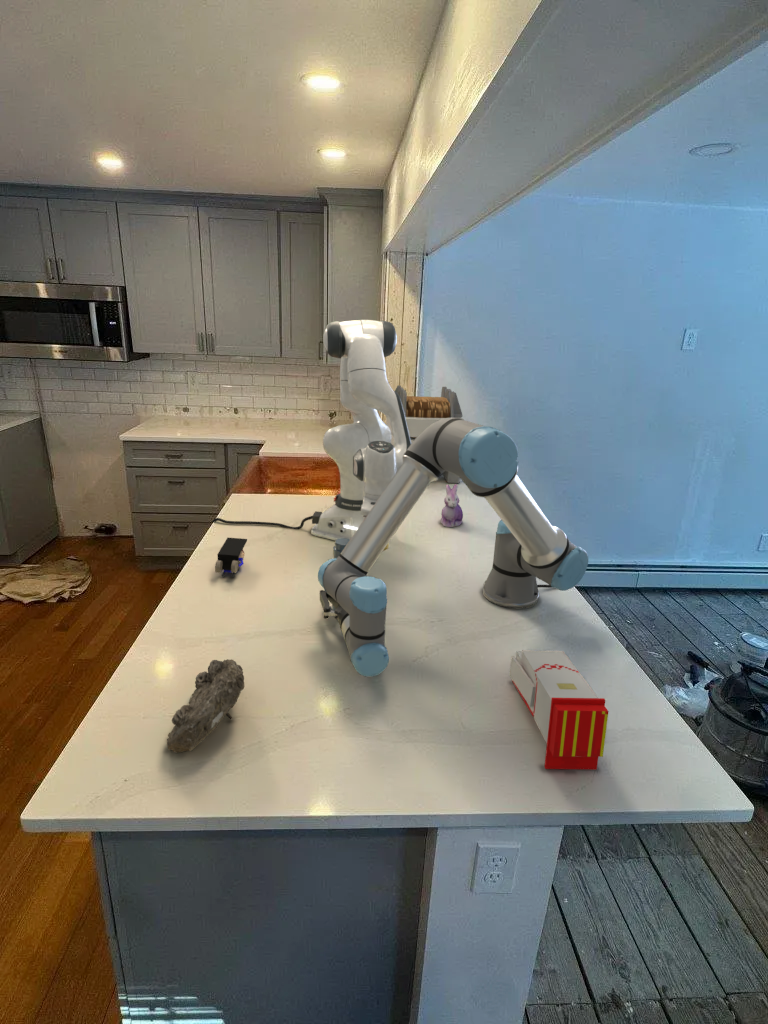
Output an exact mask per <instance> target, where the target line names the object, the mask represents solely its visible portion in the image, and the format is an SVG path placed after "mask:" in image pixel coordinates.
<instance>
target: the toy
mask: <svg viewBox="0 0 768 1024" xmlns="http://www.w3.org/2000/svg"><path fill="white" fill-rule="evenodd" d="M509 677H510V679H511V681H512V684H513V685H514V687H515V688H516V690H517V692H518V694H519V696H520V697H521V699H522V700H523V703H524V704H525V706H526V708H527V710H528V711H529V713H530V714H531V716H532V718H533V720H534V722H535V724H536V727H537V728H538V730H539V732H540V733H541V736H542V737H543V740H544V742H545V744H546V748H545V757H544V769H545V770H595V771H596V770H598V763H599V758H603V757H604V751H605V744H606V735H607V727H608V720H609V712H610V711H609V710H608V709H607V707H606V699H605V698H602V697H600V698H599V696H598V695H597V694H596V692H595V691H594V690H593V688H592V687H591V686H590V684H589V683H588V682H587V680H586V679H585V678H584V676H583V675H582V674H581V673H580V671H579V669H577V667H576V666H575V664H574V663H573V662H572V660H571V659H570V657H569V656H567V654H566V653H565V651H564V650H532V649H531V650H528V649H526V650H524V649H523V650H516V652H515V656H511V659H510V667H509Z"/></svg>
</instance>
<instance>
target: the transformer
mask: <svg viewBox="0 0 768 1024" xmlns="http://www.w3.org/2000/svg"><path fill="white" fill-rule="evenodd" d="M394 391H395V392H397V393H398V395H399V397H400V399H401V402H402V406H403V410H404V414H405V418H406V422H407V427H408V431H409V435H410V439H411V443H412V442H413V441H414V440H415V439H416V438H417V437H418V436H419V435H420V434H421V433H422V432H423V431H424V430H425V429H426V428H427V427H429V426H430V425H432V424H433V423H435V422H437V421H439V420H441V419H444V418H451V417H454V418H460V419H463V420H465V419H464V418H463V411H462V408H461V405H460V402H459V398H458V395H457V392H455V391H453V390H452V389H451V388H447V386H442V387H441V392H440V393H441V394H440V396H415V395H414V396H413V395H412V396H411V395H407V394H408V393H407V390H406V389H404V388H403V387H402V385H399V384H398V385H397V386H396V388H395V390H394ZM385 424H386V425H387V426H388V427H389V429H390V431H391V435H392V439H391V444H392V445H393V446H394V447H395V441H394V437H393V433H392V428H391V424H390V421H389V419H388V417H387V416H386V415H385ZM441 475H443V478H444V479H445V481H446V482H447V483H449V484H459V483H461V478H460V477H458V476H457V475H455V474H453V473H451V472H448V471H444V472H443V473H442V474H441Z"/></svg>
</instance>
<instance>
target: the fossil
mask: <svg viewBox="0 0 768 1024" xmlns="http://www.w3.org/2000/svg"><path fill="white" fill-rule="evenodd" d="M243 670H244V669H243V667H242V665H240V664H237V662H236V661H235V660H234V659H232V658H231V659H227V658H226V659H224V660H223V661H222V660H217V659H212V660H211V661H210V663H209V665H208V666H207V671H201V672H199V673H198V674H197V675H196V676H195V680H194V684H195V685H194V687H195V689H194V690H193V693H192V694H191V697H190V698H189V700H188V704H184V705H182V706H181V707H180V709H177V710H176V711H175V713H174V715H173V716H172V718H171V723H172V724H173V727H172V730H171V731H170V732H168V734H167V738H166V741H167V742H166V745H167V749H168V750H169V751H173V752H174V753H176V754H178V753H182V752H188V751H189V752H192V751H193V750H195V748H196V747H197V746H199V744H200V743H201V742H203V741H204V740H205V739H206V738H207V737H208V736H209V735H210V734H211V733H212V732H214V730H215V729H217V727H218V726H219V724H220V722H221V721H222V720H223V719H224V718H225V716H226V717H227V719H229V720H233V717H232V715H230V714H229V710H230V709H231V708H234V706H235V704H236V703H237V702H238V699H239V697H240V695H241V693H242V691H243V690H245V689H244V688H245V675H244V671H243Z"/></svg>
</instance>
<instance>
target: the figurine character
mask: <svg viewBox="0 0 768 1024" xmlns="http://www.w3.org/2000/svg"><path fill="white" fill-rule="evenodd" d="M247 542H248V538H240V537H226V539H225V541H224V543H223V544H222V546H221V547H220V549H219V551H218V552H217V560H216V562H215V564H214V572H215V573H221V577H222V578H224V577H225V576H226V574H227V573H230V574H231V573H232V574H231V578H234V577H235V575H236V573H237V572H239V571H240V567H242V566H243V565H244V564H245V562H244V558H245V551H244V547H245V546H246V544H247Z"/></svg>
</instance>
